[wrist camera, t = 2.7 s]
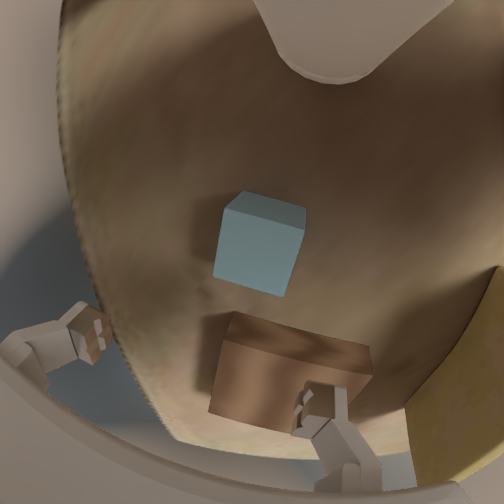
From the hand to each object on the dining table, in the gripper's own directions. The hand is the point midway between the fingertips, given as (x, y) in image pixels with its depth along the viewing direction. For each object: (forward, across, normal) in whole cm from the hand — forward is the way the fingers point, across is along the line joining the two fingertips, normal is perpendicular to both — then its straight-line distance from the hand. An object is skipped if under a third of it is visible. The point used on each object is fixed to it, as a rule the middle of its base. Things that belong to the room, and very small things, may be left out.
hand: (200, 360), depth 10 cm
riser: (+14, -7, +16) cm, 22 cm away
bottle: (+14, -2, -16) cm, 21 cm away
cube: (+14, -1, 0) cm, 14 cm away
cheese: (+14, -27, +7) cm, 31 cm away
